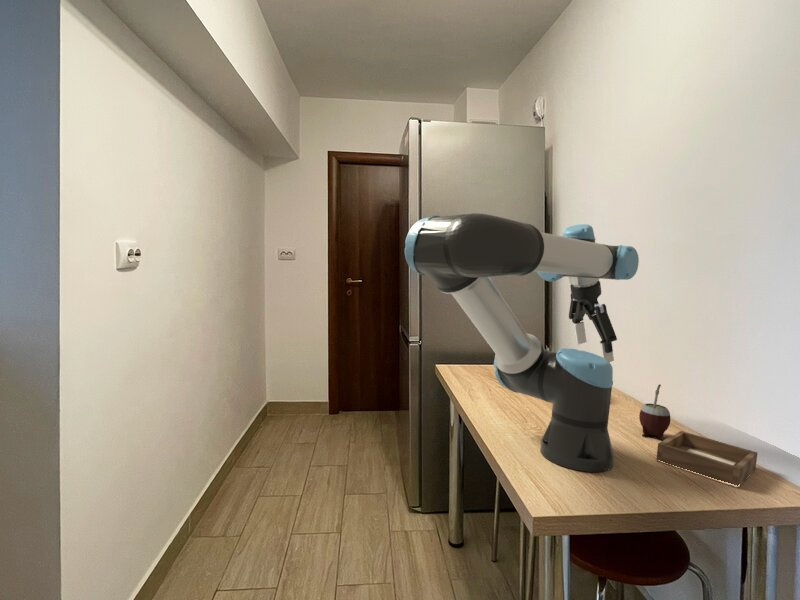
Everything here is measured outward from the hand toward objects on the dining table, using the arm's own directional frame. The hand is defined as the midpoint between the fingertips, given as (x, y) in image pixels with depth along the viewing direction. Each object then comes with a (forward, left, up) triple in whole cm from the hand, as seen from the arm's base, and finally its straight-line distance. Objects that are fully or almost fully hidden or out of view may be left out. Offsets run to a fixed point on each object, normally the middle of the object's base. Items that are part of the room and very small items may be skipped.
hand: (594, 351), depth 126 cm
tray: (-7, -31, -19) cm, 37 cm away
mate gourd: (+2, -17, -20) cm, 26 cm away
